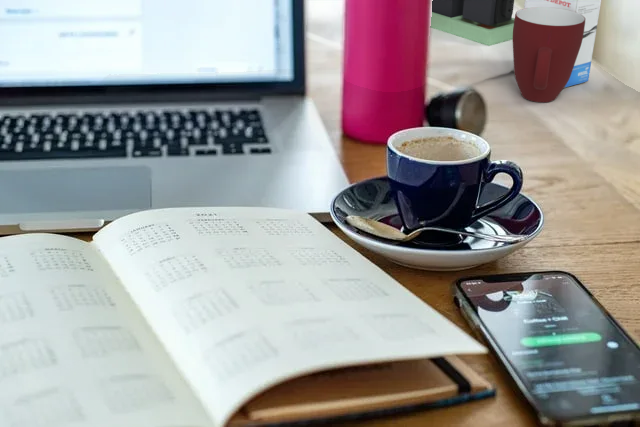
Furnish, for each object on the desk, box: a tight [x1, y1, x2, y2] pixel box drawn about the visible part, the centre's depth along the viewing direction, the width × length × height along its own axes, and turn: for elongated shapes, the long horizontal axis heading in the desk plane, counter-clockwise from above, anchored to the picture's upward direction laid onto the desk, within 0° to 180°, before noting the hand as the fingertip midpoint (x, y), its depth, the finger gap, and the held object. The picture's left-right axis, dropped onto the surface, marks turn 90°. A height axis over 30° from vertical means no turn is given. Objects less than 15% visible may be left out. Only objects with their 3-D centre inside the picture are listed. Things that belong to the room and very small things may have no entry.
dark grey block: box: [462, 0, 513, 26], centre depth 126 cm, size 5×5×4 cm
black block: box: [432, 0, 464, 18], centre depth 132 cm, size 5×5×4 cm
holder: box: [430, 12, 515, 47], centre depth 131 cm, size 15×8×3 cm, turn 40°
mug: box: [512, 7, 585, 103], centre depth 104 cm, size 10×8×10 cm
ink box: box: [523, 0, 602, 89], centre depth 111 cm, size 8×5×12 cm, turn 34°
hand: (487, 15), depth 127 cm, fingers closed on dark grey block, 5 cm apart
